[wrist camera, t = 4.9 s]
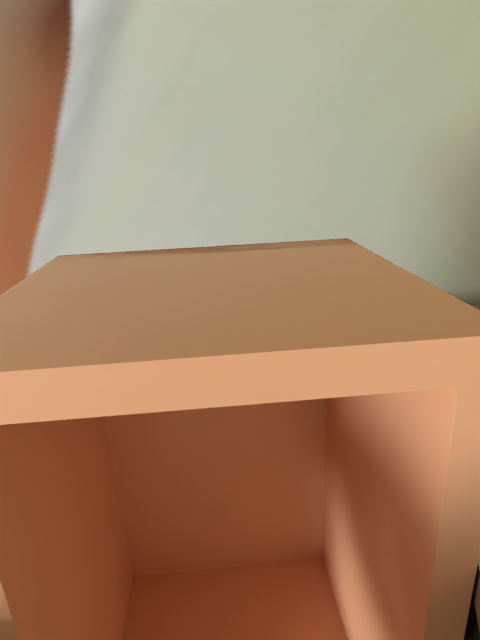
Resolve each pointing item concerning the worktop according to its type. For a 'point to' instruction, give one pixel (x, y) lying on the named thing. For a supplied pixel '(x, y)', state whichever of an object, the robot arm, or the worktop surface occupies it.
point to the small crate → (237, 448)
